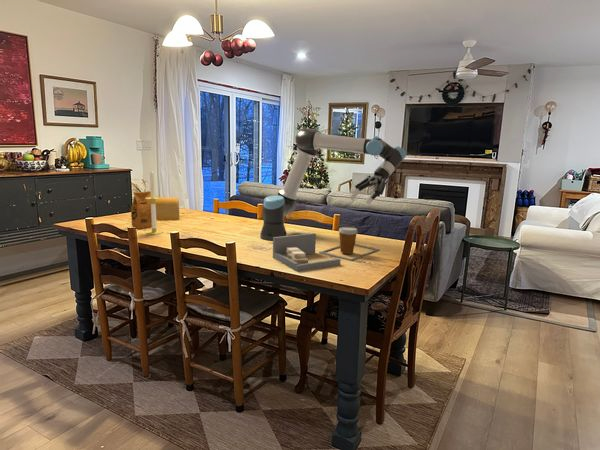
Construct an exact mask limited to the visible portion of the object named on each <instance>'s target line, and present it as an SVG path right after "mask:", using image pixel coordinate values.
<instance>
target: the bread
mask: <svg viewBox="0 0 600 450" xmlns="http://www.w3.org/2000/svg"><path fill="white" fill-rule="evenodd" d="M159 197H160V199H155V204H156V220H158V221H180V201H179V198H178V197H177V196H176V197H175V196H159Z"/></svg>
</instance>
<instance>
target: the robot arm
mask: <svg viewBox="0 0 600 450" xmlns="http://www.w3.org/2000/svg"><path fill="white" fill-rule="evenodd" d="M294 140H295V144H296V150H297V154H296V156H295V158H294V161H293V163H292V164H291V165H292V166H291V167H290V171H289V173H288V175H287V178H286V180H285V182H284V185H283V188H282V189H279V190H278V193H277V195H268V196H266V197H265V198H264V199H263V204H262V205H263V225H262V227H261V230H260V232H259V233H260V235H259V236H260V237H259V238H260V239H262V240H265V241H266V240H267V241H273V237H282V236H288V233H287V230H286V227H285V217H286V216H289V215H291V214H293V212H294V211H295V210H296V209H297V200H298V196H297V193H298V191H299V189H300V187H301V184H302V182H303V179H304V177H305V174H306V172H307V170H308V167H309V165H310V162H311V160H312V158H315V157H316V155H317V153H318V151H319V150H320V149H323V150H328V151H329V150H332V151H339V152H347V153H356V154H362V155H363V154H364V155H370V156H379V157H381V158H382V159H383V161H382V163H380V165H379V166H378V167H377V168H376V169H375V171H374V173H373V175H372V176H371V174H369V175H368V176H366V177H365V178H364V179H363V180H362V181H360V182H359V183H357V184H356V185H355V186H354V187H355V190H354V191H353V192H352V194H351V195H350V196H349V199H350V200H351V201H352V202H354V200H355V199H356V198H357V197H358V195H359V194H360V193H361V191H363V190H365V189H367V188H368V187H371V186H374V187H375V188H374V191H373V192H372V193H371V194H369V196H368V198H367V199H366V200H365V203H366V204H367V205H368V206H370V205H371V203H372V202H373V201H374V200H375V199H376V198H377V197H378V196H383V194H384V192H385V189H386V185H387V184H388V182H389V181H388V179H389V178H390V176H391V175H392V174H393V172H395V170H397V168H398V167H399V166H400V165H401V163H402V162H403V161H404V159H405V158H406V157H407V152H406V150H405V149H404V148H403V147H402V146H395V147H392V146H391V145H390V144H389V143H388V142H386V141H385V140H384V139H382V138H381V137H379V136H377V135H376V136H374V137H373V138H362V137H353V136H352V137H351V136H344V135H335V134H325V133H322V132H321V130H320V131H319V130H318V129H315V128H308V127H307V128H301V129H300V130H299V131H297V132H296V135H295V139H294Z"/></svg>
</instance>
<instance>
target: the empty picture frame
mask: <svg viewBox="0 0 600 450" xmlns="http://www.w3.org/2000/svg"><path fill="white" fill-rule="evenodd" d="M354 247H359V248H361V249H368V250H370V251H368V252H366V253H364V254H363V253H362V254H361V255H357V256H355V257H352V258H350V257H346V256H341V255H337V254H332V253H330V251H333V250H337V249H340V245H337V246H333V247H331V248H329V249H325V250H322V251H319V252H318V254H320V255H325V256H328V257H329V258H330V259H341V260H345V261H350V262H353V261H356V260H358V259H361V258H364V257H367V256H368V255H371V254H373V253H377V252H379V251H380V248H376V247H373V246H367V245H362V244H357V243H355V245H354ZM371 249H372V250H371ZM328 252H329V253H328Z"/></svg>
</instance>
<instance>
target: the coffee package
mask: <svg viewBox="0 0 600 450" xmlns="http://www.w3.org/2000/svg"><path fill="white" fill-rule="evenodd" d="M146 197H151V190H147V191H143V192H141V191H134V192H133V199H132V203H131V207H130V208H131V209H130V212H131V214H130V216H131V217H130V219H131V227H132V228H134V227H136V228H137V230H141V229H149V228H148V227H150V228H152V217H151V200H149V199H145V198H146ZM136 228H135V229H136Z"/></svg>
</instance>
